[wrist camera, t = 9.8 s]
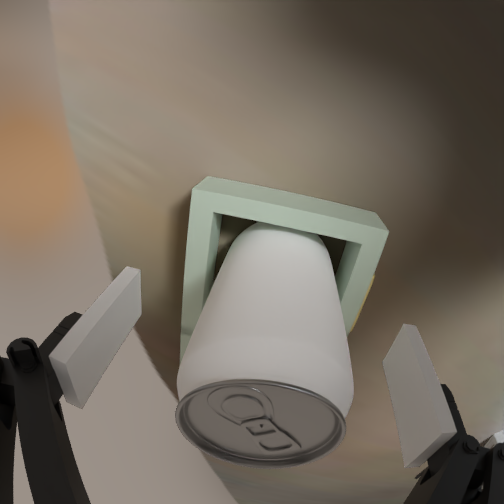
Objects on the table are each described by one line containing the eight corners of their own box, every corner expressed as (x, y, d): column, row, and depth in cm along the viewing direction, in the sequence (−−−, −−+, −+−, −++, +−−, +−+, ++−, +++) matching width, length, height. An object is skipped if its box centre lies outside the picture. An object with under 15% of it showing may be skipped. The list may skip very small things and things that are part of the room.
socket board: (379, 213, 17) (394, 232, 15) (302, 405, 25) (301, 432, 23) (207, 175, 18) (192, 188, 15) (188, 382, 26) (179, 407, 23)
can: (303, 197, 18) (318, 341, 7) (345, 286, 20) (378, 453, 9) (208, 243, 20) (124, 392, 9) (257, 319, 22) (228, 478, 11)
